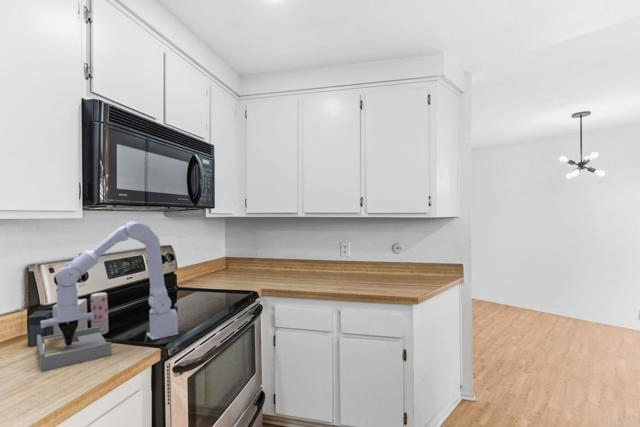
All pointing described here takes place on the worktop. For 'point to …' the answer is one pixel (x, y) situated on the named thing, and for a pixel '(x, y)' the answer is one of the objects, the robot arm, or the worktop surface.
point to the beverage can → (100, 311)
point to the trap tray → (74, 349)
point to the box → (38, 326)
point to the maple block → (54, 345)
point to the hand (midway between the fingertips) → (68, 344)
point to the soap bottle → (81, 309)
